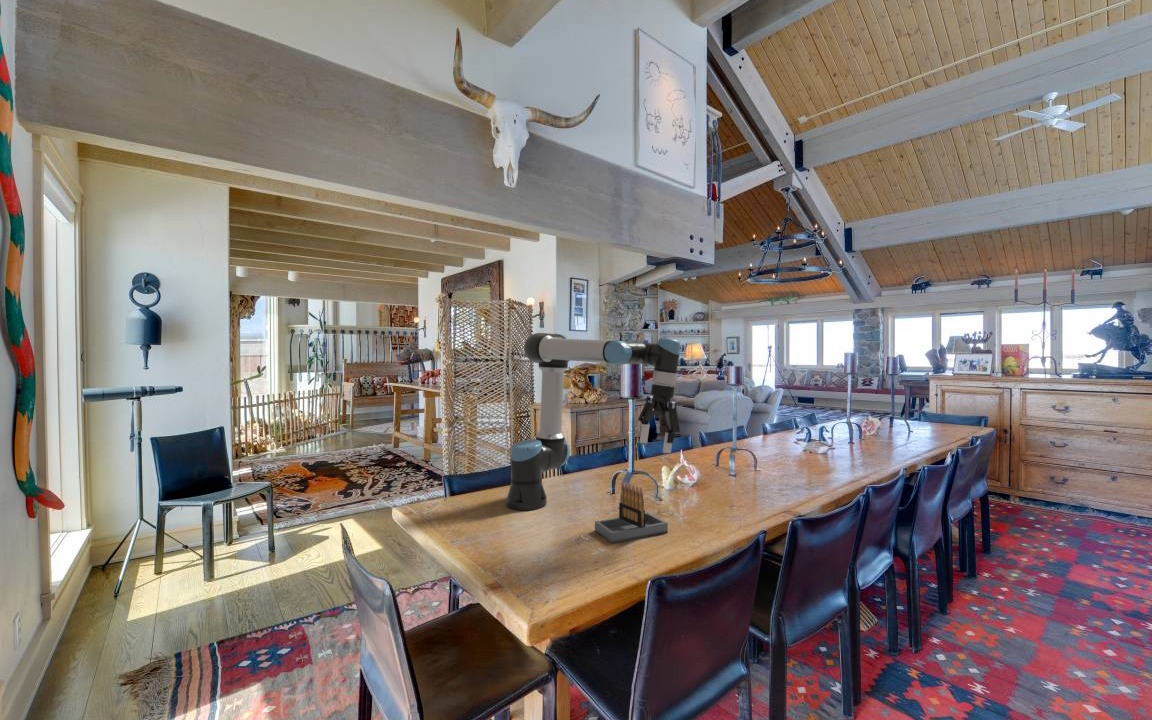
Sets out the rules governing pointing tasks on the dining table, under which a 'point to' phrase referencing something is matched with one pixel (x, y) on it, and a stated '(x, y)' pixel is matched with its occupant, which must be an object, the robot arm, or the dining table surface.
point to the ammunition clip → (632, 505)
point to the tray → (630, 528)
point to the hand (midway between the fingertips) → (654, 447)
